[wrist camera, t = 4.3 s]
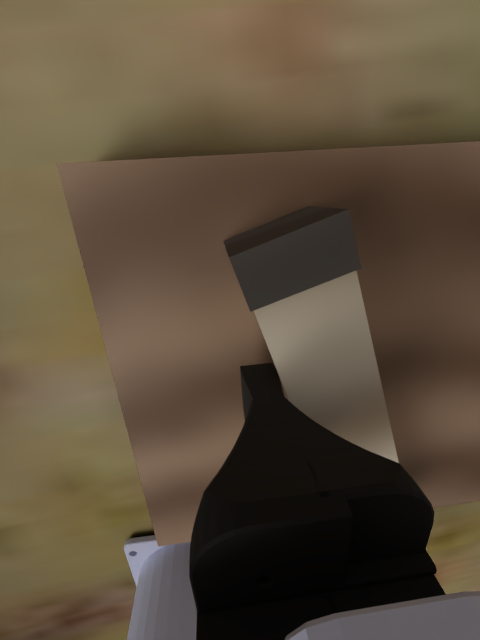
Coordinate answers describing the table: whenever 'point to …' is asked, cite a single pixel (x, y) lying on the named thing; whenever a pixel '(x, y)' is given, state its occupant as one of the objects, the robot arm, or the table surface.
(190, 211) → the stool seat
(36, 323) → the table surface
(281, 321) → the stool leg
